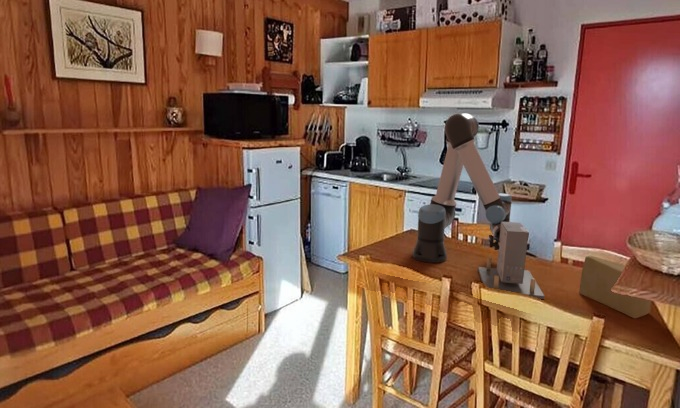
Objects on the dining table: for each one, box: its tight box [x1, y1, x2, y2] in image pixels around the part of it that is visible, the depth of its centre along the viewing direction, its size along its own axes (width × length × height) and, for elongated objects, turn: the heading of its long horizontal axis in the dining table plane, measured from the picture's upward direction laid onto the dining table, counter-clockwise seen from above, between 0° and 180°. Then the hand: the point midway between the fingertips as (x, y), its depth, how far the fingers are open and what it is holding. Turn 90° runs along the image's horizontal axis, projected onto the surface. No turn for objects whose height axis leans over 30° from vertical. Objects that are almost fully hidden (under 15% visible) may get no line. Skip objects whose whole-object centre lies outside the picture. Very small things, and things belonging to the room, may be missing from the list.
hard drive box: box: [496, 221, 529, 284], centre depth 173 cm, size 16×8×20 cm, turn 169°
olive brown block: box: [578, 255, 652, 319], centre depth 158 cm, size 22×10×15 cm, turn 29°
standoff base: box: [477, 257, 545, 300], centre depth 175 cm, size 20×26×6 cm
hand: (513, 251), depth 170 cm, fingers closed on hard drive box, 7 cm apart
